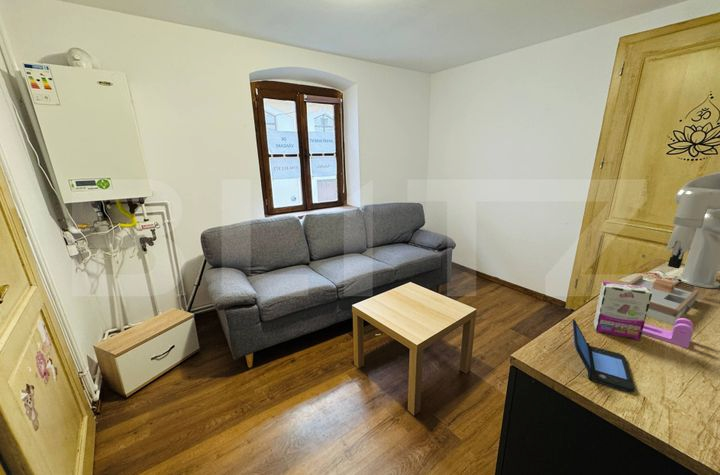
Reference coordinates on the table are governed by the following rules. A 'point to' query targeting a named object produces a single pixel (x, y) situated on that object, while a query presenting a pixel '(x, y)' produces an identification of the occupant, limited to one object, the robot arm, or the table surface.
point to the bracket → (672, 332)
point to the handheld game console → (603, 363)
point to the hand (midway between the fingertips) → (673, 266)
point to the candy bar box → (622, 309)
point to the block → (664, 285)
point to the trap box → (667, 301)
